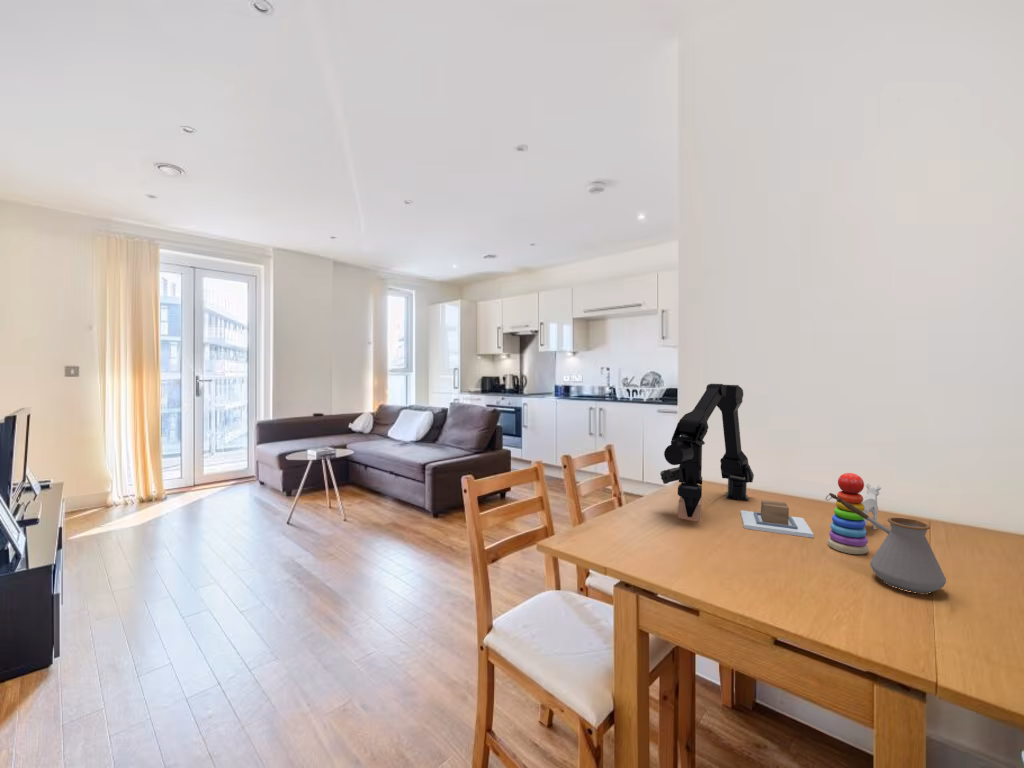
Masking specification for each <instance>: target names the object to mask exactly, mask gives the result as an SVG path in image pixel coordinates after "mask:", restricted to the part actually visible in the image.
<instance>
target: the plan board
mask: <svg viewBox="0 0 1024 768" xmlns="http://www.w3.org/2000/svg"><path fill="white" fill-rule="evenodd" d="M740 516H741V520H742V524H743V525H742V526H743V528H744V529H747V530H753V531H762V532H767V533H775V534H781V535H782V534H783V535H789V536H790V535H791V536H797V537H798V536H799V537H805V538H812V539H814V537H815V534H814V532H813V531H812V529H811V527H810V526H809V525H808V523H807V522H806V520H805V518H803V517H798V516H790V515H789V519H788V525H783V524H776V523H768V522H763V521H762V518H761V512H760V511H759V512H757V511H750V510H740Z"/></svg>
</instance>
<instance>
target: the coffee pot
mask: <svg viewBox="0 0 1024 768" xmlns="http://www.w3.org/2000/svg"><path fill="white" fill-rule="evenodd" d="M829 496H830V498H829V499H827V498H828V497H829ZM831 499H834V500H836V501H837V502H841V503H842V504H843V505H844V506H845V507H846V508H848V509H849V510H851V511H853V512H854V513H856V514H858V515H859V516H861V517H863V518H865V519H866V520H868V521H869V523H871V524H872V525H873V524H874V525H876V528H879V529H880V530H882V531H883V532H884V533H886V534H887V536H886V537H885V539H884V540H883V542H882V543H881V545H880V546H879V548H878V550H876V552H875V554H874V555H873V557H872V558H871V560H870V562H869V566H870V568H871V569H872V571H873V573H874V574H875V575H876V576H877V577H878V578H879V579H880V580H881V579H882V580H883V581H884V582H885V583H887V584H889V585H891V586H894V587H897V588H900V589H903V590H907V591H911V592H916V593H929V592H932V593H933V592H936V591H937V592H938V591H939V590H940V589H942V588H943V587H945V585H946V583H947V578H946V576H945V575H944V572H943V570H942V568H941V565H940V564H939V562H938V560H937V557H936V555H935V554H934V552H933V549H932V546H931V545H930V543H929V541H928V539H927V537H926V534H927V532H928V530H930V529H931V526H930V525H929V524H927V523H926V522H923V521H921V520H917V519H911V518H905V517H898V516H897V517H889V518H887V522H888V523H889V524H890V529H889V528H888V527H887V526H885V525H883V524H881V523H880V522H878V520H877V521H875V520H873V517H872V518H871V517H870V516H869V514H868V515H866V514H865V513H863V512H862V511H861V510H859V509H858V508H856V507H855V506H853V505H852V504H850V503H848V502H846V501H844V500H842V498H838V497H837V494H834V493H832V492H829V493H828V494H827V495H826V497H825V501H830V500H831ZM868 521H867V522H868ZM882 580H881V581H882ZM883 581H882V582H883ZM884 582H883V583H884ZM885 583H884V584H885ZM887 584H886V585H887ZM889 585H888V586H889ZM891 586H890V587H891Z"/></svg>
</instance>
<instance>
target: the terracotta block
mask: <svg viewBox="0 0 1024 768" xmlns="http://www.w3.org/2000/svg"><path fill="white" fill-rule="evenodd" d="M702 502H703V500H702V498H701V499H700V501H699V503H698V505H697V507H696V509H695V511H694V513H693V515H692V517H688V516H687V512H686V507H685V502H684V499H683V498H682V497H680V496H679V499H678V506H677V507H678V513H677V517H678V518H677V519H680V518H682V519H681V520H688V521H694V522H702V505H703V503H702Z"/></svg>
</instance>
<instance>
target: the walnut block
mask: <svg viewBox="0 0 1024 768" xmlns="http://www.w3.org/2000/svg"><path fill="white" fill-rule="evenodd" d="M760 501H761V503H760V513H761V518H762V521H763V522H768V523H776V524H783V525H788V519H789V516H790V515H789V513H790V512H789V510H790V508H789V506H788V504H787V503H786V502H785V501H777V500H768V499H761V500H760Z"/></svg>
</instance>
